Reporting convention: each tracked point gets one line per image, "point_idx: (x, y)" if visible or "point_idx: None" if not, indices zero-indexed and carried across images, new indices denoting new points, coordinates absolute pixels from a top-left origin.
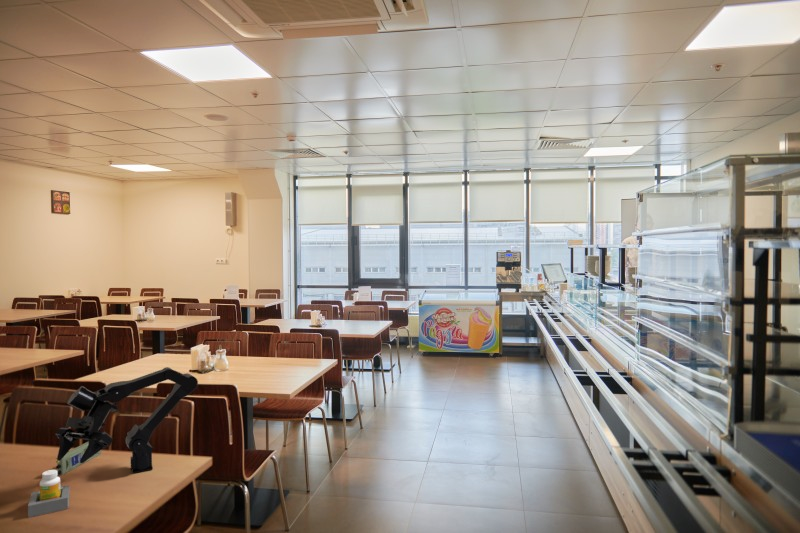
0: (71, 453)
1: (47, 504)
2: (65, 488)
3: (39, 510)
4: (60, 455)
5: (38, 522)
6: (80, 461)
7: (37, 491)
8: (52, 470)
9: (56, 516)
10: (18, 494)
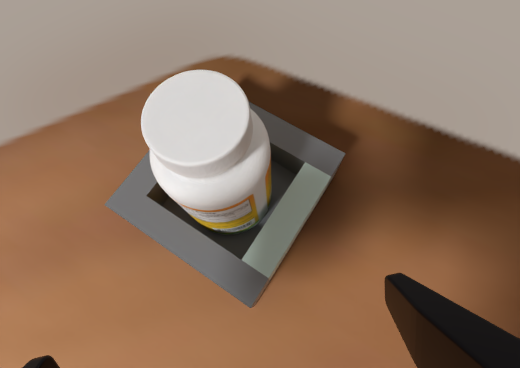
0: None
1: None
2: (226, 267)
3: None
4: (413, 319)
5: None
6: (33, 361)
7: (332, 173)
8: (209, 141)
9: (119, 162)
10: (500, 194)
